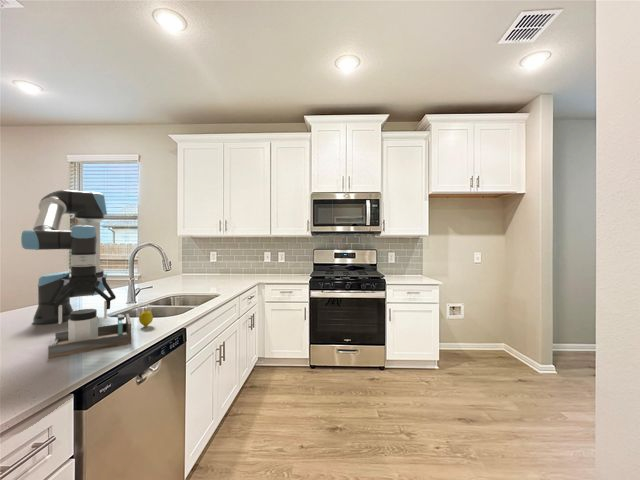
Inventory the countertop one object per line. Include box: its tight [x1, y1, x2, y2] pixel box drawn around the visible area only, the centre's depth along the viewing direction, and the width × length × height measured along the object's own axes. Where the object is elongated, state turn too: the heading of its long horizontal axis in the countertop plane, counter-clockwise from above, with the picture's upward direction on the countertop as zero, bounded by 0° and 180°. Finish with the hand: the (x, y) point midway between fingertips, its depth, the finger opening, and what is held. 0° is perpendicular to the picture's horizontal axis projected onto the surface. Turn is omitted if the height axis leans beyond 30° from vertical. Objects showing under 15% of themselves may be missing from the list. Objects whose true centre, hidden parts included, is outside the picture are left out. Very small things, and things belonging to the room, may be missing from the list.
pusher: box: [117, 314, 125, 335], centre depth 120 cm, size 15×2×8 cm, turn 36°
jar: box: [67, 308, 99, 343], centre depth 113 cm, size 9×8×12 cm
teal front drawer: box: [47, 313, 132, 359], centre depth 115 cm, size 18×24×8 cm
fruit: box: [138, 309, 154, 328], centre depth 136 cm, size 6×6×8 cm
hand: (83, 320), depth 113 cm, fingers open, 13 cm apart
